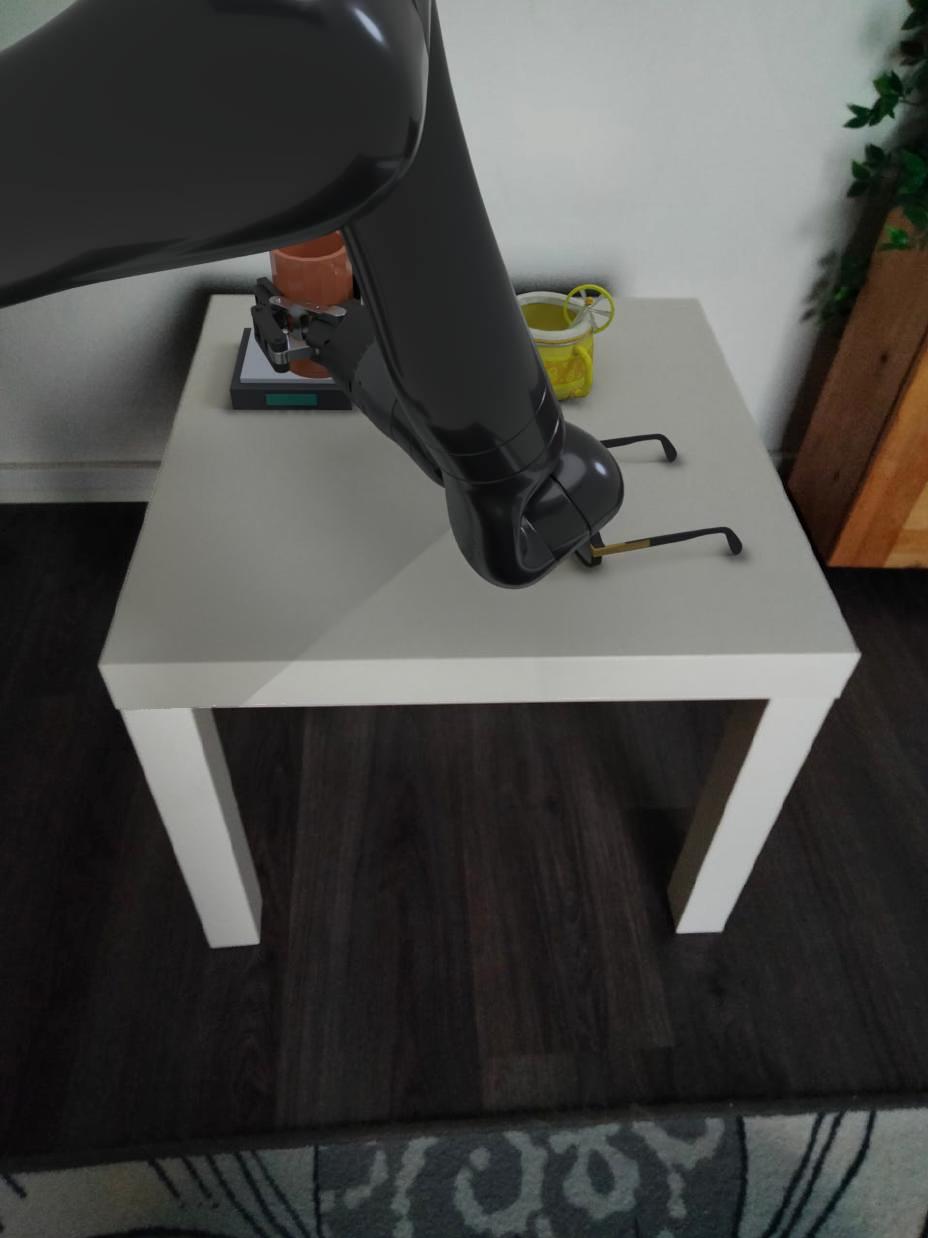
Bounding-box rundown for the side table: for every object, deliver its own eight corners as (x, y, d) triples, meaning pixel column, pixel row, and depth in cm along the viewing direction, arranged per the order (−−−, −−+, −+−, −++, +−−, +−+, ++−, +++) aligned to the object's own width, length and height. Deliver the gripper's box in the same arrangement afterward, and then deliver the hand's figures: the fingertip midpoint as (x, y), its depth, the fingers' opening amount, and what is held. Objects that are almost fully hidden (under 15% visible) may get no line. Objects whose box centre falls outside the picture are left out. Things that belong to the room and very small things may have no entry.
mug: (468, 373, 97) (473, 266, 88) (544, 344, 102) (556, 239, 93) (545, 431, 90) (559, 321, 81) (623, 397, 95) (644, 289, 86)
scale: (351, 410, 91) (350, 384, 89) (232, 409, 91) (228, 384, 88) (356, 348, 100) (354, 323, 97) (247, 347, 99) (243, 321, 97)
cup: (321, 387, 73) (310, 268, 66) (267, 360, 75) (251, 243, 68) (372, 357, 76) (367, 240, 69) (319, 332, 79) (309, 217, 71)
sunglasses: (740, 555, 79) (755, 511, 75) (577, 582, 75) (585, 538, 72) (674, 460, 88) (685, 416, 84) (526, 481, 85) (531, 437, 81)
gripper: (490, 303, 63) (377, 215, 73) (304, 355, 58) (208, 252, 67) (484, 395, 69) (380, 302, 78) (314, 450, 63) (224, 343, 73)
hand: (301, 279), depth 73 cm, fingers closed on cup, 6 cm apart
